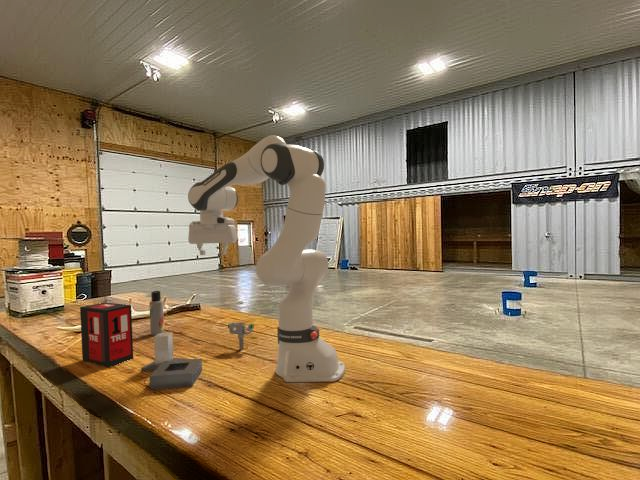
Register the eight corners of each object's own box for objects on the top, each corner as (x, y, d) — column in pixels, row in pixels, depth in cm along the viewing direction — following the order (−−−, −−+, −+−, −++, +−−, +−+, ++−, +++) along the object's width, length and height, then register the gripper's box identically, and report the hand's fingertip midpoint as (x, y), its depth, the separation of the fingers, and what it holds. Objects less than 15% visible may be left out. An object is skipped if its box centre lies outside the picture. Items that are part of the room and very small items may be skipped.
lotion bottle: (166, 331, 159) (164, 289, 159) (159, 335, 154) (158, 292, 153) (155, 332, 160) (153, 290, 159) (148, 335, 154) (146, 292, 154)
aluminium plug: (173, 360, 119) (172, 332, 119) (169, 365, 114) (167, 335, 114) (160, 361, 118) (158, 332, 118) (155, 366, 114) (154, 336, 114)
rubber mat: (186, 361, 120) (186, 358, 120) (167, 372, 110) (167, 369, 110) (162, 359, 122) (162, 357, 122) (141, 370, 113) (141, 367, 113)
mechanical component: (252, 350, 129) (251, 324, 128) (227, 349, 131) (226, 324, 131) (255, 348, 132) (254, 322, 131) (231, 347, 134) (230, 322, 133)
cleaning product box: (133, 358, 124) (131, 305, 124) (108, 367, 117) (106, 310, 116) (107, 352, 132) (104, 302, 132) (82, 360, 124) (80, 307, 124)
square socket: (202, 370, 111) (201, 358, 111) (192, 386, 99) (191, 373, 99) (164, 373, 110) (163, 361, 110) (150, 389, 98) (149, 376, 98)
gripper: (184, 221, 135) (185, 255, 135) (230, 219, 130) (231, 254, 130) (193, 221, 141) (195, 254, 141) (238, 219, 136) (239, 253, 136)
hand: (213, 254), depth 135 cm, fingers open, 8 cm apart
